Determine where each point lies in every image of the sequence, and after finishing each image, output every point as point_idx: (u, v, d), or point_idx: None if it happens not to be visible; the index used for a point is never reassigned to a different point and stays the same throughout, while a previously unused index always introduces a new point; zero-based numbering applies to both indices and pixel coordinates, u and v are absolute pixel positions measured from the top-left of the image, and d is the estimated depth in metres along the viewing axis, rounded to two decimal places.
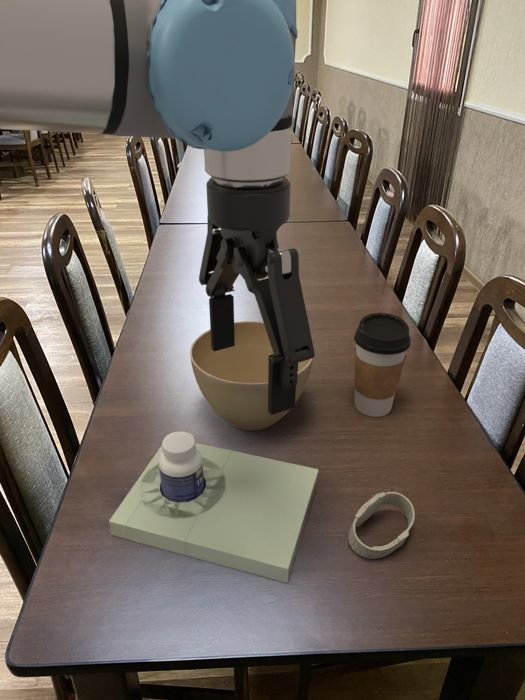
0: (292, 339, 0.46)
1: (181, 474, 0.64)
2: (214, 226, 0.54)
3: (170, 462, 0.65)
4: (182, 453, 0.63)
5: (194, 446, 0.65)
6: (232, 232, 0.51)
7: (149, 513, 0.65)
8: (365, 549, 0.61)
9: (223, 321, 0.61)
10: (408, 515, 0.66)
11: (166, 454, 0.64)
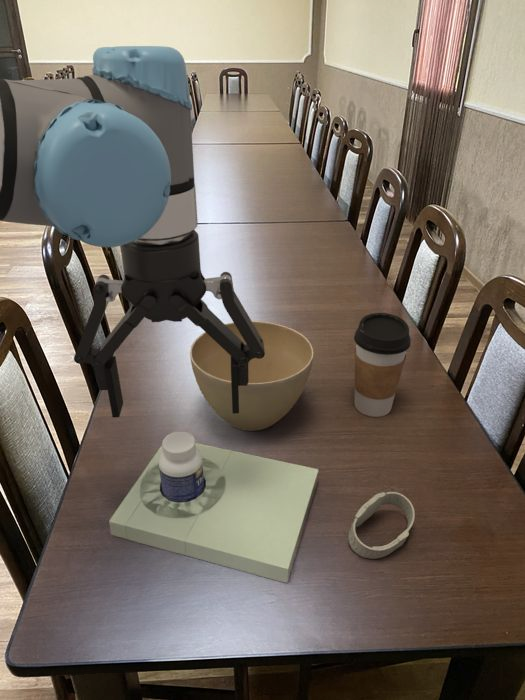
0: (257, 338, 0.57)
1: (181, 474, 0.64)
2: (106, 294, 0.53)
3: (170, 462, 0.65)
4: (182, 453, 0.63)
5: (194, 446, 0.65)
6: (150, 287, 0.53)
7: (149, 513, 0.65)
8: (365, 549, 0.61)
9: (116, 384, 0.60)
10: (408, 515, 0.66)
11: (166, 454, 0.64)
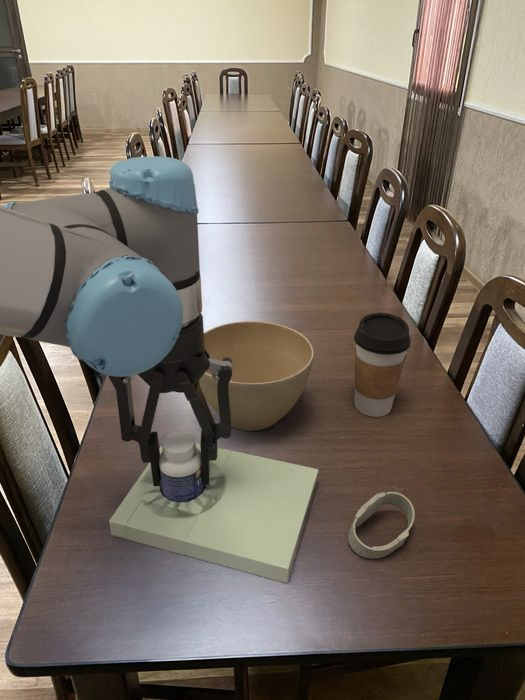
0: (230, 421, 0.63)
1: (181, 474, 0.64)
2: (121, 377, 0.58)
3: (170, 462, 0.65)
4: (182, 453, 0.63)
5: (194, 446, 0.65)
6: (157, 363, 0.58)
7: (149, 513, 0.65)
8: (365, 549, 0.61)
9: (158, 456, 0.66)
10: (408, 515, 0.66)
11: (166, 454, 0.64)
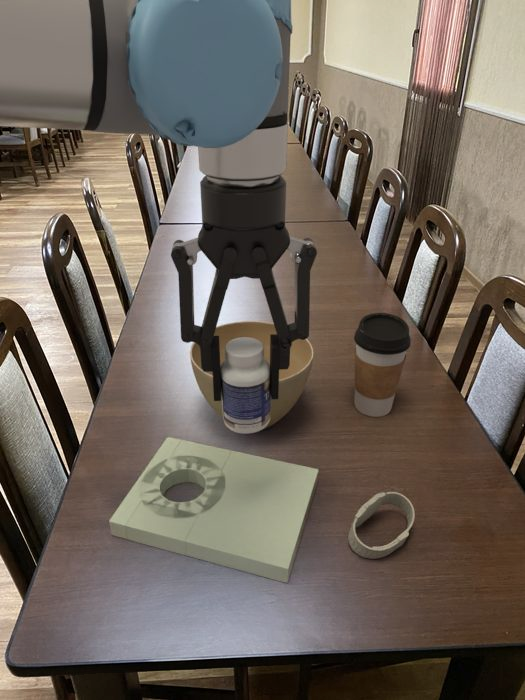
0: None
1: (248, 383, 0.55)
2: (186, 257, 0.49)
3: (235, 370, 0.55)
4: (250, 357, 0.54)
5: (263, 351, 0.55)
6: (230, 239, 0.48)
7: (149, 513, 0.65)
8: (365, 549, 0.61)
9: None
10: (408, 515, 0.66)
11: (231, 360, 0.55)
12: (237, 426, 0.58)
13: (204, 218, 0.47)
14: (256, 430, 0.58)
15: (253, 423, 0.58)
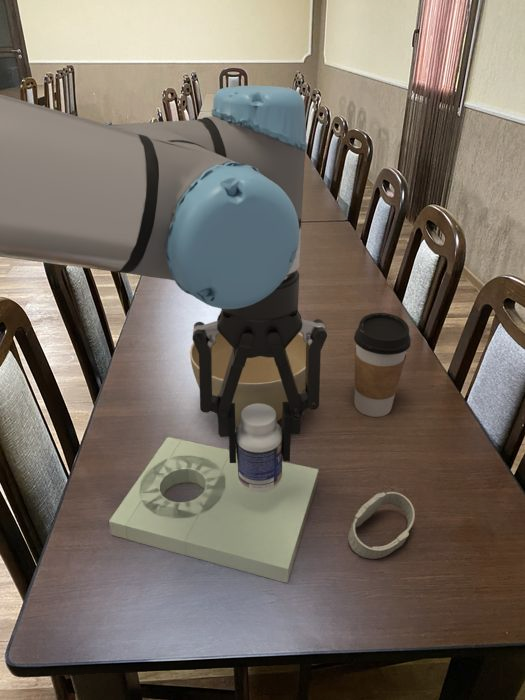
0: None
1: (262, 449, 0.59)
2: (206, 340, 0.53)
3: (250, 436, 0.59)
4: (264, 426, 0.58)
5: (275, 419, 0.59)
6: (247, 324, 0.52)
7: (149, 513, 0.65)
8: (365, 549, 0.61)
9: (235, 430, 0.61)
10: (408, 515, 0.66)
11: (246, 427, 0.59)
12: (251, 486, 0.62)
13: None
14: (269, 489, 0.62)
15: (266, 483, 0.62)
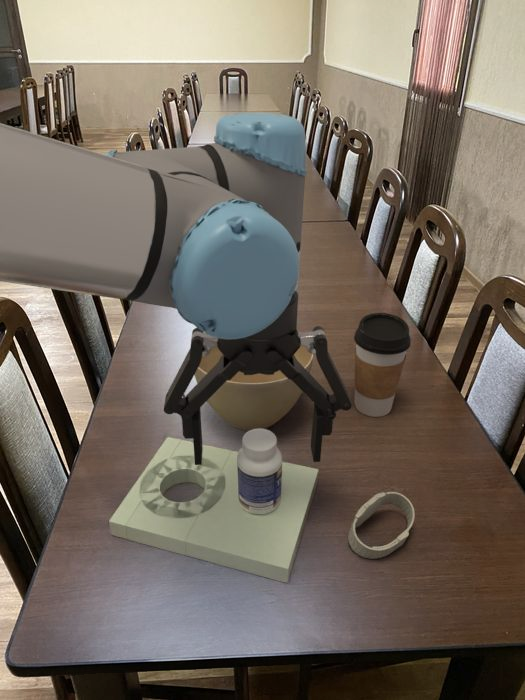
0: (345, 390, 0.58)
1: (263, 473, 0.61)
2: (202, 348, 0.54)
3: (251, 460, 0.61)
4: (265, 451, 0.60)
5: (276, 444, 0.61)
6: (246, 342, 0.53)
7: (149, 513, 0.65)
8: (365, 549, 0.61)
9: (200, 432, 0.60)
10: (408, 515, 0.66)
11: (247, 452, 0.61)
12: (251, 508, 0.64)
13: None
14: (268, 511, 0.64)
15: (266, 506, 0.64)
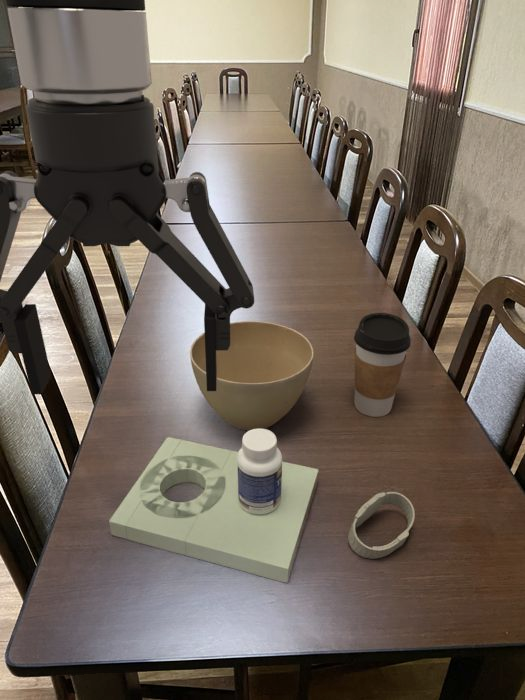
0: (243, 276, 0.39)
1: (263, 473, 0.61)
2: (9, 197, 0.34)
3: (251, 460, 0.61)
4: (265, 451, 0.60)
5: (276, 444, 0.61)
6: (78, 187, 0.34)
7: (149, 513, 0.65)
8: (365, 549, 0.61)
9: (37, 345, 0.41)
10: (408, 515, 0.66)
11: (247, 452, 0.61)
12: (251, 508, 0.64)
13: None
14: (268, 511, 0.64)
15: (266, 506, 0.64)
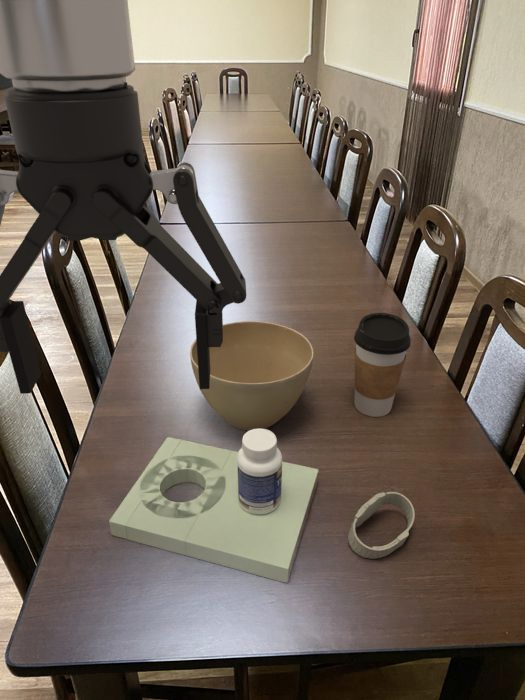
0: (234, 270, 0.37)
1: (263, 473, 0.61)
2: None
3: (251, 460, 0.61)
4: (265, 451, 0.60)
5: (276, 444, 0.61)
6: (61, 179, 0.33)
7: (149, 513, 0.65)
8: (365, 549, 0.61)
9: (25, 343, 0.40)
10: (408, 515, 0.66)
11: (247, 452, 0.61)
12: (251, 508, 0.64)
13: (15, 146, 0.32)
14: (268, 511, 0.64)
15: (266, 506, 0.64)
